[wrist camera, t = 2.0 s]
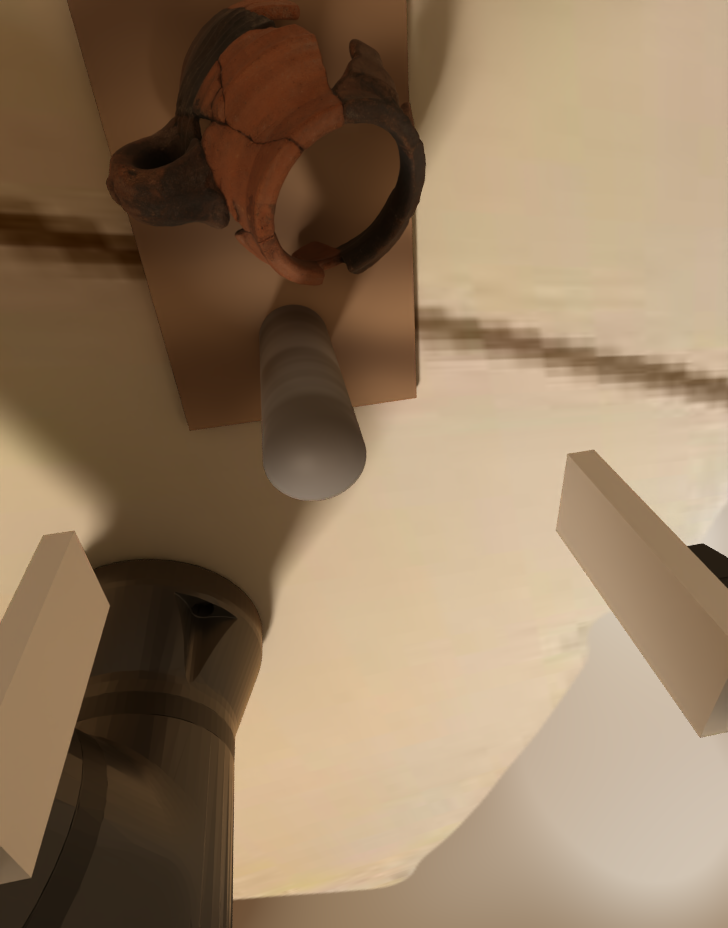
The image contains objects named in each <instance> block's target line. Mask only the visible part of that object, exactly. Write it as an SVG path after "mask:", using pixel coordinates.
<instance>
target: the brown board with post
mask: <svg viewBox="0 0 728 928" xmlns="http://www.w3.org/2000/svg"><path fill="white" fill-rule="evenodd" d="M241 1H244V0H67V2H68V5H69V9H70V12H71V16H72V19H73V23H74V26H75V30H76V33H77V37H78V40H79V44H80V47H81V51H82V54H83V58H84V62H85V65H86V69H87V72H88V76H89V79H90V83H91V86H92V90H93V93H94V97H95V100H96V104H97V107H98V111H99V114H100V118H101V121H102V125H103V128H104V132H105V135H106V139H107V142H108V146H109V149H110V153H111V156H112V155H113V154H114V153H115V152H116V151H117V150H118V149H120V148H121V147H123V146H124V145H126V144H128V143H131V142H133V141H136V140H139V139H141V138H144V137H148V136H151V135H153V134H155V133H156V132H158V131H159V130H161V129H162V128H163V127H164V126H165V125H166V124H167V123H168V122H169V121H170V120H171V119H172V118H173V117H174V116H175V112H176V103H177V98H178V93H179V84H180V77H181V70H182V65H183V62H184V58H185V56H186V54H187V51H188V49H189V47H190V45H191V43H192V42H193V40H194V39H195V37H196V36H197V34H198V33H199V31H200V30H201V28H202V27H203V26H204V25H205V24H206V23H207V22H208V21H209V20H210V19H211V18H212V17H213V16H214V15H216V14H217V13H218V12H220V11H221V10H223V9H226V8H228V7H230V6H231V5H233V4H236V3H238V2H241ZM288 1H291V2H294V3H296V4H297V5H298V6H299V9H300V16H299V19H298V20H273V21H274V23H275V26H276V28H280V27H283V26H286V25H291V24H296V25H298V26H300V27H303V28H305V29H306V30H307V31H308V32H310V33H313V34H314V35H315V36H316V39H317V42H318V46H319V49H320V52H321V56H322V59H323V65H324V67H325V69H326V72H327V77H328V84H329V86H330V88H331V89H332V88H333V87H334V85H335V84H336V83H337V81H338V80H339V79H340V78H341V77H342V75H343V73H344V72H345V69H346V67H347V65H348V63H349V62H350V61H351V60H352V59H351V56H350V52H349V43H350V41H351V40H352V39H358V40H360V41H362V42H364V43H365V44H367V45H369V46H370V47H372V48H374V49H375V50H376V51H377V52H378V53H379V55H380V57H381V60H382V64H383V66H384V68H385V70H386V71H387V72H388V73H389V74H390V76H391V78H392V79H393V81H394V83H395V87H396V91H397V93H398V96H399V106H400V108H401V105H402V104H403V103H404V102H409V86H408V47H407V8H406V0H288ZM199 124H200V128H201V135H203V133H204V131H205V130H206V128H207V127H209V126H210V124H211V121H210V120H207V119H202V118H200V121H199ZM399 170H400V156H399V150H398V146H397V143H396V141H395V139H394V138H393V137H392V135H391V134H390V133H389V132H388V131H386V130H385V129H383V128H381V127H379V126H377V125H374V124H367V123H357V124H353V123H347V124H345V125H344V126H342V127H341V128H339V129H336V130H334V131H332V132H330V133H328V134H326V135H325V136H323V137H322V138H320V139H318V140H317V141H316V142H314V143H313V144H312V145H311V146H310V147H309V148H308V149H306V150H304V151H303V153H302V154H301V156H300V157H299V159H298V160H297V161H296V162H295V164H294V165H293V167H292V168H291V170H290V171H289V173H288V175H287V177H286V179H285V181H284V183H283V185H282V187H281V190H280V192H279V196H278V199H277V203H276V209H275V215H274V224H275V231H274V232H275V233H276V235H277V238H278V241H279V243H280V245H281V246H282V248H283V249H284V250H285V251H286V252H287V253H288V254H289V255H291V256H292V254H293V253H294V252H295V251H296V250H298V249H299V248H301V247H302V246H304V245H306V244H308V243H310V242H314V241H317V242H321V243H323V244H326V245H329V246H330V247H333V248H337V247H339V246H341V245H342V244H345V243H347V242H348V241H349V240H351V239H353V238H355V237H356V236H358V235H359V234H361V233H362V232H363V231H364V230H365V229H366V228H368V227H369V226H370V225H371V224H372V222H373V221H374V220H375V218H376V217H377V216H378V214H379V213H380V211H381V210H382V208H383V207H384V205H385V203H386V201H387V199H388V197H389V195H390V194H391V192H392V190H393V189H394V188H395V186H396V183H397V179H398V175H399ZM229 214H230V221H229V224H228V226H226V227H225V228H223V229H217V228H213V227H210V226H209V225H207V224H204V223H200V222H192V223H187V224H183V225H179V226H172V227H171V226H164V227H161V226H151V225H146V224H143V223H141V222H138V221H137V220H135V219H134V218H133V217H132V216H131V215H129V214H128V216H129V219H130V223H131V226H132V230H133V233H134V237H135V240H136V244H137V247H138V251H139V254H140V258H141V262H142V265H143V269H144V272H145V276H146V279H147V283H148V286H149V290H150V293H151V297H152V300H153V304H154V307H155V311H156V314H157V318H158V321H159V325H160V328H161V332H162V335H163V339H164V342H165V346H166V349H167V353H168V356H169V360H170V363H171V367H172V370H173V374H174V377H175V381H176V384H177V388H178V391H179V395H180V398H181V402H182V405H183V409H184V412H185V416H186V419H187V423H188V426H189V430H190V431H191V430H198V429H205V428H212V427H219V426H226V425H233V424H240V423H247V422H253V421H260V420H262V450H263V466H264V470H265V473H266V475H267V477H268V479H269V481H270V482H271V483H272V484H273V485H274V487H275V488H277V489H278V490H279V491H280V492H282V493H284V494H285V495H287V496H289V497H292V498H295V499H299V500H305V501H318V500H324V499H329V498H332V497H334V496H337V495H339V494H341V493H342V492H344V491H346V490H347V489H348V488H350V487H351V486H352V485H353V484H354V483H355V482H356V480H357V479H358V478H359V476H360V475H361V473H362V471H363V469H364V466H365V462H366V447H365V443H364V440H363V437H362V434H361V431H360V428H359V425H358V422H357V419H356V416H355V413H354V410H353V407H357V406H364V405H370V404H377V403H384V402H391V401H398V400H405V399H412V398H417V397H416V358H415V320H414V281H413V242H412V217H411V218H410V219H409V224H408V226H407V227H406V229H405V231H404V232H403V234H402V236H401V237H400V239H399V240H398V241H397V242H396V244H395V245H394V246H393V247H392V248H391V249H390V251H389V252H387V253H386V254H385V255H384V256H383V257H382V258H381V259H380V260H379V261H378V262H377V263H375V264H374V265H373V266H371V267H370V268H368V269H367V270H366V271H364V272H363V273H360V274H353V273H351V272H349V270H348V269H347V266H346V264H345V263H342V264H340V265H338V266H335V267H333V268H330V269H327V270H324V273H325V277H324V280H323V284H321V285H318V286H310V285H300V284H297V283H295V282H293V281H289V280H288V279H286V278H284V277H282V276H280V275H279V274H278V273H277V272H275V270H274V269H273V268H272V267H271V266H270V265H268V264H266V263H264V262H263V261H261V260H260V259H258V258H257V257H256V256H255V255H254V254H252V253H251V252H249V251H248V250H247V249H246V248H245V247H244V246H243V245H242V244H240V243H239V241H238V240H237V239H236V237H235V233H236V231H237V230H240V229H242V226H241V225H240V223H239V222H236V220H235V219H234V218H233V216H232V214H231V213H230V212H229Z"/></svg>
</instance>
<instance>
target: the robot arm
mask: <svg viewBox="0 0 728 928" xmlns="http://www.w3.org/2000/svg"><path fill="white" fill-rule="evenodd" d="M556 531H557V533H558V534H559V536H560V537H561V539H562V540H563V541H564V543H565V544H566V546H567V547H568V549H569V550H570V551H571V553H572V554H573V556H574V557H575V559H576V560H577V562H578V563H579V564H580V566H581V567H582V569H583V570H584V572H585V573H586V575H587V576H588V577H589V579H590V580H591V582H592V583H593V585H594V586H595V587H596V589H597V590H598V592H599V593H600V595H601V596H602V598H603V599H604V600H605V602H606V603H607V605H608V606H609V608H610V609H611V610H612V612H613V613H614V615H615V616H616V618H617V619H618V620H619V622H620V623H621V625H622V626H623V628H624V629H625V631H626V632H627V633H628V635H629V636H630V638H631V639H632V641H633V642H634V644H635V645H636V646H637V648H638V649H639V651H640V652H641V654H642V655H643V657H644V658H645V659H646V661H647V662H648V664H649V665H650V667H651V668H652V669H653V671H654V672H655V673H656V675H657V677H658V678H659V679H660V681H661V682H662V684H663V685H664V687H665V688H666V690H667V691H668V692H669V694H670V695H671V697H672V698H673V700H674V701H675V702H676V704H677V705H678V707H679V708H680V710H681V711H682V713H683V714H684V715H685V717H686V718H687V720H688V721H689V723H690V724H691V726H692V727H693V728H694V730H695V731H696V733H697V734H698V736H699V737H700V738H701V737H706V736H711V735H716V734H720V733H725V732H728V558H727V557H726V556H724V555H722V554H721V553H719V552H717V551H715V550H714V549H712V548H710V547H708V546H707V545H705V544H697V545H691V546H686V545H685V544H684V543H683V542H682V541H681V540H680V539H679V538H678V537H677V536H676V534H675V533H674V532H673V531H672V530H671V529H670V528H669V527H668V526H667V525H666V524H665V523H664V522H663V521H662V520H661V519H660V518H659V517H658V516H657V515H656V514H655V513H654V512H653V511H652V510H651V509H650V507H649V506H648V505H647V504H646V503H645V502H644V501H643V500H642V499H641V498H640V497H639V496H638V495H637V494H636V493H635V492H634V491H633V490H632V489H631V488H630V487H629V486H628V485H627V484H626V483H625V482H624V481H623V479H622V478H621V477H620V476H619V475H618V474H617V473H616V472H615V471H614V470H613V469H612V468H611V467H610V466H609V465H608V464H607V463H606V462H605V461H604V460H603V459H602V458H601V457H600V456H599V455H598V454H597V452H596V451H595V450H589V451H583V452H577V453H570V454H567V461H566V467H565V474H564V480H563V487H562V494H561V500H560V507H559V514H558V520H557V527H556ZM261 661H262V625H261V620H260V617H259V614H258V612H257V610H256V608H255V606H254V605H253V603H252V602H251V600H250V599H249V598H248V597H247V595H246V594H245V593H244V592H243V591H242V590H240V589H239V588H238V587H237V586H236V585H234V584H233V583H231V582H230V581H228V580H227V579H225V578H224V577H222V576H220V575H218V574H216V573H213V572H211V571H209V570H206V569H204V568H201V567H197V566H194V565H190V564H186V563H181V562H175V561H167V560H133V561H125V562H119V563H114V564H110V565H106V566H102V567H99V568H96V569H94V570H93V569H92V567H91V565H90V562H89V560H88V558H87V556H86V554H85V552H84V550H83V548H82V545H81V543H80V541H79V539H78V537H77V535H76V533H75V531H69V532H62V533H56V534H50V535H43V537H42V539H41V541H40V543H39V545H38V547H37V549H36V551H35V553H34V555H33V557H32V559H31V561H30V563H29V565H28V567H27V570H26V572H25V574H24V576H23V578H22V580H21V582H20V584H19V586H18V588H17V590H16V592H15V594H14V596H13V598H12V600H11V602H10V604H9V606H8V608H7V610H6V612H5V615H4V617H3V619H2V621H1V623H0V928H232V903H233V827H234V755H235V736H236V733H237V730H238V728H239V725H240V722H241V719H242V717H243V714H244V711H245V709H246V706H247V703H248V700H249V698H250V695H251V692H252V690H253V687H254V684H255V681H256V679H257V676H258V673H259V670H260V666H261Z"/></svg>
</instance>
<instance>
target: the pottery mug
mask: <svg viewBox="0 0 728 928" xmlns="http://www.w3.org/2000/svg"><path fill="white" fill-rule="evenodd" d="M299 16H300V9H299V6H298V5H297V4H296V3H294V2H291V1H288V0H244V1H241V2H238V3H236V4H233V5H231V6H230V7H228V8H226V9H223V10H221V11H220V12H218V13H217V14H216V15H214V16H213V17H212V18H211V19H210V20H209V21H208V22H207V23H206V24H205V25H204V26H203V27H202V28H201V30H200V31H199V33H198V34H197V36H196V37H195V39H194V40H193V42H192V43H191V45H190V47H189V49H188V51H187V54H186V56H185V58H184V62H183V65H182V70H181V77H180V84H179V93H178V98H177V103H176V112H175V116H174V117H173V118H172V119H171V120H170V121H169V122H168V123H167V124H166V125H165V126H164V127H163V128H162V129H161V130H159V131H158V132H156V133H155V134H153V135H151V136H148V137H144V138H141V139H139V140H136V141H133V142H131V143H128V144H126V145H124V146H123V147H121V148H120V149H118V150H117V151H116V152H115V153H114V154H113V155H112V157H111V160H110V169H109V177H108V178H107V181H106V184H107V188H108V190H109V192H110V195H111V196H112V198H113V199H114V200H115V201H116V202H117V203H118V204H119V205H121V206H122V207H123V209H124V210H125V211H126V212H127V213H128V214H129V215H131V216H132V217H133V218H134V219H135V220H137V221H138V222H141V223H143V224H146V225H151V226H161V227H164V226H171V227H172V226H179V225H183V224H187V223H192V222H200V223H204V224H207V225H209V226H210V227H213V228H217V229H223V228H225V227H226V226H228V224H229V221H230V214H229V212H230V213H231V214H232V216H233V218H234V219H235V220H236V222H239V223H240V225H241V226H242V229H240V230H237V231H236V233H235V237H236V239H237V240H238V241H239V243H240V244H242V245H243V246H244V247H245V248H246V249H247V250H248V251H249V252H251V253H252V254H254V255H255V256H256V257H257V258H258V259H260V260H261V261H263V262H264V263H266V264H268V265H270V266H271V267H272V268H273V269H274V270H275V272H277V273H278V274H279V275H280V276H282V277H284V278H286V279H288V280H289V281H293V282H295V283H297V284H300V285H310V286H318V285H321V284H323V280H324V277H325V273H324V270H327V269H330V268H333V267H335V266H338V265H340V264H342V263H345V264H346V266H347V269H348V270H349V272H351V273H353V274H360V273H363V272H364V271H366V270H367V269H368V268H370V267H371V266H373V265H374V264H375V263H377V262H378V261H379V260H380V259H381V258H382V257H383V256H384V255H385V254H386V253H387V252H389V251H390V249H391V248H392V247H393V246H394V245H395V244H396V242H397V241H398V240H399V239H400V237H401V236H402V234H403V232H404V231H405V229H406V227H407V226H408V224H409V219H410V218H411V217H412V216H413V214H414V212H415V210H416V207H417V205H418V203H419V202H420V195H421V192H422V188H423V185H424V181H425V166H426V162H425V160H426V159H425V154H424V147H423V143H422V141H421V140H420V139H419V135H418V132H417V131H416V129H415V128H414V121H413V117H412V112H411V106H410V103H409V102H404V103H403V104H402V105H401V108H400V106H399V96H398V93H397V91H396V87H395V83H394V81H393V79H392V78H391V76H390V74H389V73H388V72H387V71H386V70H385V68H384V66H383V64H382V60H381V57H380V55H379V53H378V52H377V51H376V50H375V49H374V48H372V47H370V46H369V45H367V44H365V43H364V42H362V41H360V40H358V39H352V40H351V41H350V43H349V52H350V56H351V59H352V60H351V61H350V62H349V63H348V65H347V67H346V69H345V72H344V73H343V75H342V77H341V78H340V79H339V80H338V81H337V83H336V84H335V85H334V87H333V88H332V89H331V88H330V86H329V84H328V77H327V72H326V69H325V67H324V65H323V59H322V56H321V52H320V49H319V46H318V42H317V39H316V36H315V35H314V34H313V33H310V32H308V31H307V30H306V29H305V28H303V27H300V26H298V25H296V24H291V25H286V26H283V27H280V28H276V26H275V23H274V21H273V20H298V19H299ZM200 118H202V119H207V120H210V121H211V124H210V126H209V127H207V128H206V130H205V131H204V133H203V135H201V128H200V124H199V121H200ZM347 123H353V124H357V123H367V124H374V125H377V126H379V127H381V128H383V129H385V130H386V131H388V132H389V133H390V134H391V135H392V137H393V138H394V139H395V141H396V143H397V146H398V150H399V156H400V170H399V175H398V179H397V183H396V186H395V188H394V189H393V190H392V192H391V194H390V195H389V197H388V199H387V201H386V203H385V205H384V207H383V208H382V210H381V211H380V213H379V214H378V216H377V217H376V218H375V220H374V221H373V222H372V224H371V225H370V226H369V227H368V228H366V229H365V230H364V231H363V232H362V233H361V234H359V235H358V236H356V237H355V238H353V239H351V240H349V241H348V242H347V243H345V244H342V245H341V246H339V247H337V248H333V247H330V246H329V245H326V244H323V243H321V242H317V241H314V242H310V243H308V244H306V245H304V246H302V247H301V248H299V249H298V250H296V251H295V252H294V253H293V254H292V256H291V255H289V254H288V253H287V252H286V251H285V250H284V249H283V248H282V246H281V245H280V243H279V241H278V238H277V235H276V233H275V232H274V231H275V224H274V215H275V209H276V203H277V199H278V196H279V192H280V190H281V187H282V185H283V183H284V181H285V179H286V177H287V175H288V173H289V171H290V170H291V168H292V167H293V165H294V164H295V162H296V161H297V160H298V159H299V157H300V156H301V154H302V153H303V151H304V150H306V149H308V148H309V147H310V146H311V145H312V144H313V143H314V142H316V141H317V140H318V139H320V138H322V137H323V136H325V135H326V134H328V133H330V132H332V131H334V130H336V129H339V128H341V127H342V126H344V125H345V124H347Z"/></svg>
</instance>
